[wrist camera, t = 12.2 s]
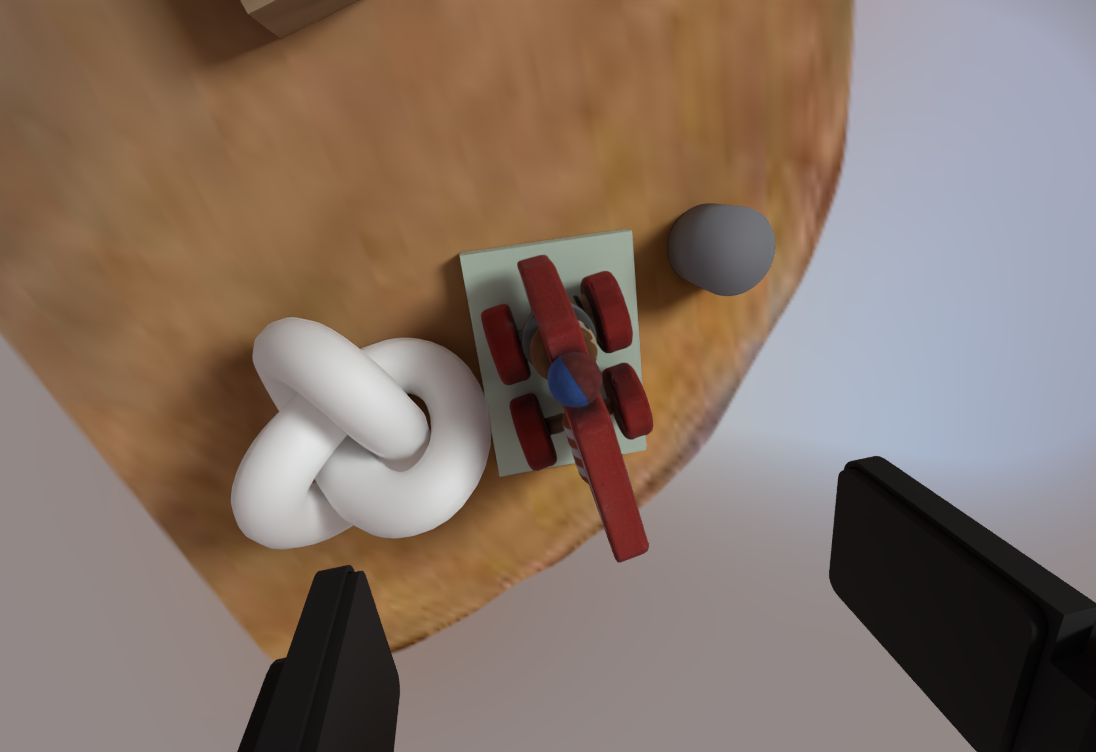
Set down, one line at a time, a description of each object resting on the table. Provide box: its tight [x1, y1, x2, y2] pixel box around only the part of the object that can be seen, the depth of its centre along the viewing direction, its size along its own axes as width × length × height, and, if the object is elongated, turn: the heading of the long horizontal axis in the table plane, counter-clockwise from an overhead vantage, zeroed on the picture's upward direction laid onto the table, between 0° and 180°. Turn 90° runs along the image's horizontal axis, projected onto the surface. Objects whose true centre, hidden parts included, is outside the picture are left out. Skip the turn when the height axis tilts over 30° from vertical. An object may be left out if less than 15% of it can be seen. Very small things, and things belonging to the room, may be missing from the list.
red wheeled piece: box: [481, 255, 653, 562], centre depth 25 cm, size 7×12×10 cm, turn 16°
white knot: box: [231, 317, 491, 549], centre depth 26 cm, size 11×12×9 cm
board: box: [460, 229, 647, 477], centre depth 30 cm, size 13×9×1 cm
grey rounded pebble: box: [667, 204, 775, 296], centre depth 28 cm, size 4×4×4 cm
